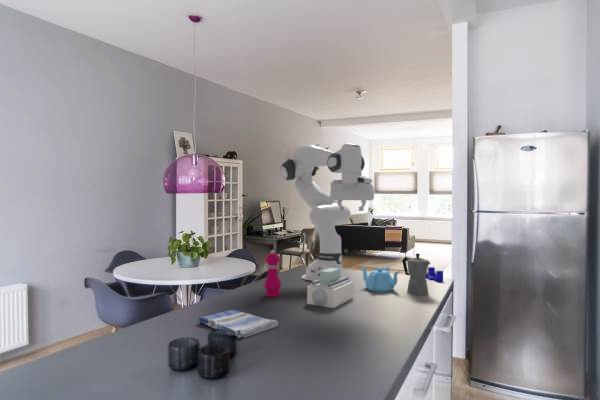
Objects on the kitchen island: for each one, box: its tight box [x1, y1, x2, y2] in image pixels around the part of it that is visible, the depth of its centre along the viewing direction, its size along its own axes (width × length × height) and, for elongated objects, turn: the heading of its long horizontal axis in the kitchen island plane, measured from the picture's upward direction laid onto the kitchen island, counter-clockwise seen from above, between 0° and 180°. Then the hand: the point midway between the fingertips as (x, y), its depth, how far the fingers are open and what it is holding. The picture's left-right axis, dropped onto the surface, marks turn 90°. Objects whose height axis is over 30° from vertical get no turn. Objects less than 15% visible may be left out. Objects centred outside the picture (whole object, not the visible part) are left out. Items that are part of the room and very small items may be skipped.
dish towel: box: [198, 309, 279, 339], centre depth 138 cm, size 17×24×3 cm
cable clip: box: [425, 266, 444, 283], centre depth 211 cm, size 12×4×6 cm, turn 5°
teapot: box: [360, 265, 401, 293], centre depth 189 cm, size 15×15×10 cm
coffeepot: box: [401, 252, 431, 296], centre depth 183 cm, size 15×9×18 cm, turn 33°
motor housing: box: [306, 276, 354, 309], centre depth 170 cm, size 12×22×9 cm, turn 148°
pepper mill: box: [264, 249, 282, 298], centre depth 178 cm, size 7×7×20 cm
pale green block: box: [320, 268, 340, 284], centre depth 169 cm, size 4×11×5 cm, turn 148°
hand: (351, 210), depth 181 cm, fingers open, 8 cm apart
